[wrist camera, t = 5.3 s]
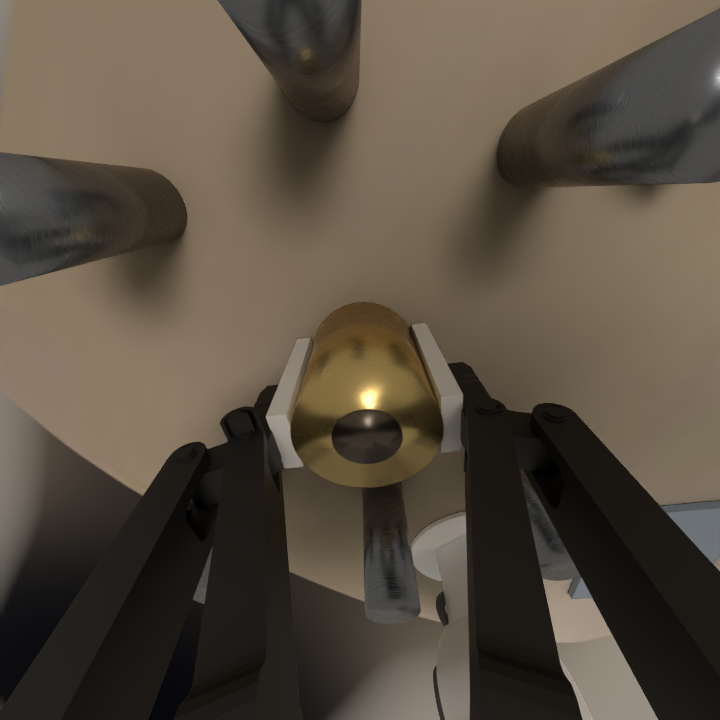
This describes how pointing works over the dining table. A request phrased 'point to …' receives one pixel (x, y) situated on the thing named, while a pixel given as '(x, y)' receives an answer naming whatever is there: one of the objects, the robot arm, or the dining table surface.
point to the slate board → (697, 520)
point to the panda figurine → (454, 614)
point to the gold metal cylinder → (365, 401)
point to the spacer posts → (329, 101)
